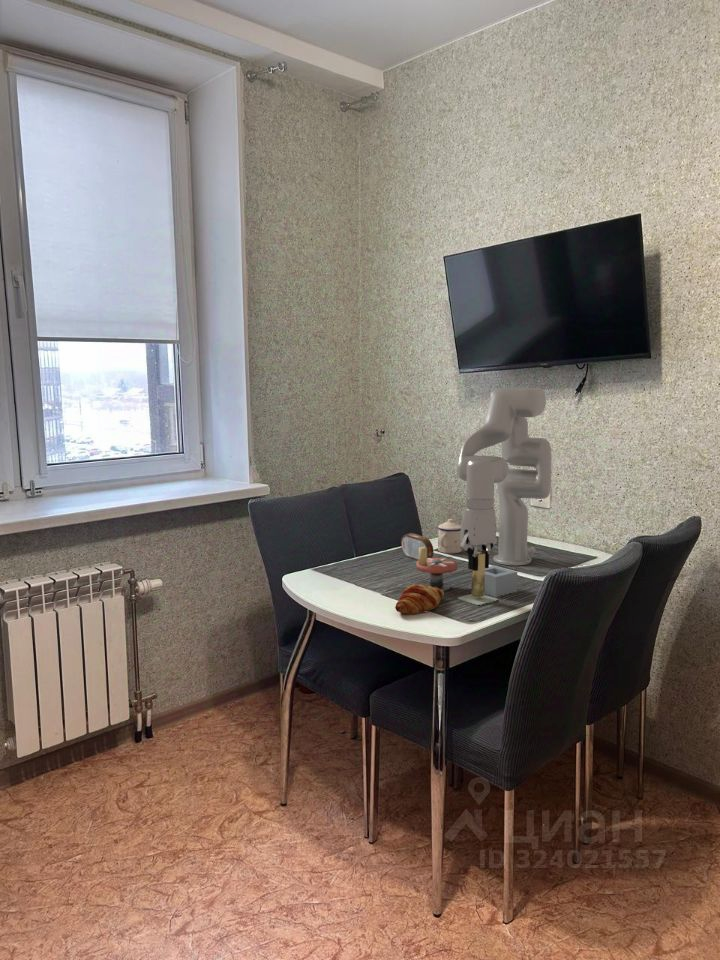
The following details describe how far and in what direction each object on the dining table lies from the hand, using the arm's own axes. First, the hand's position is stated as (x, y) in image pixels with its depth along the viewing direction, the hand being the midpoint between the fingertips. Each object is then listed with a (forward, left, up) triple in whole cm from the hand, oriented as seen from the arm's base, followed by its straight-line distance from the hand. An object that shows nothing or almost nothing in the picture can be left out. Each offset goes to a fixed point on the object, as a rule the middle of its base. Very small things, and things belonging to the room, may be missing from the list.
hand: (478, 567), depth 198 cm
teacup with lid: (-32, -46, -9) cm, 57 cm away
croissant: (+17, -5, -10) cm, 20 cm away
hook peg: (0, 0, -8) cm, 8 cm away
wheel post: (+2, -15, -9) cm, 18 cm away
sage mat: (0, 0, -9) cm, 9 cm away
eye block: (-10, -3, -9) cm, 14 cm away
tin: (-16, -45, -10) cm, 49 cm away
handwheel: (+2, -15, -3) cm, 15 cm away
